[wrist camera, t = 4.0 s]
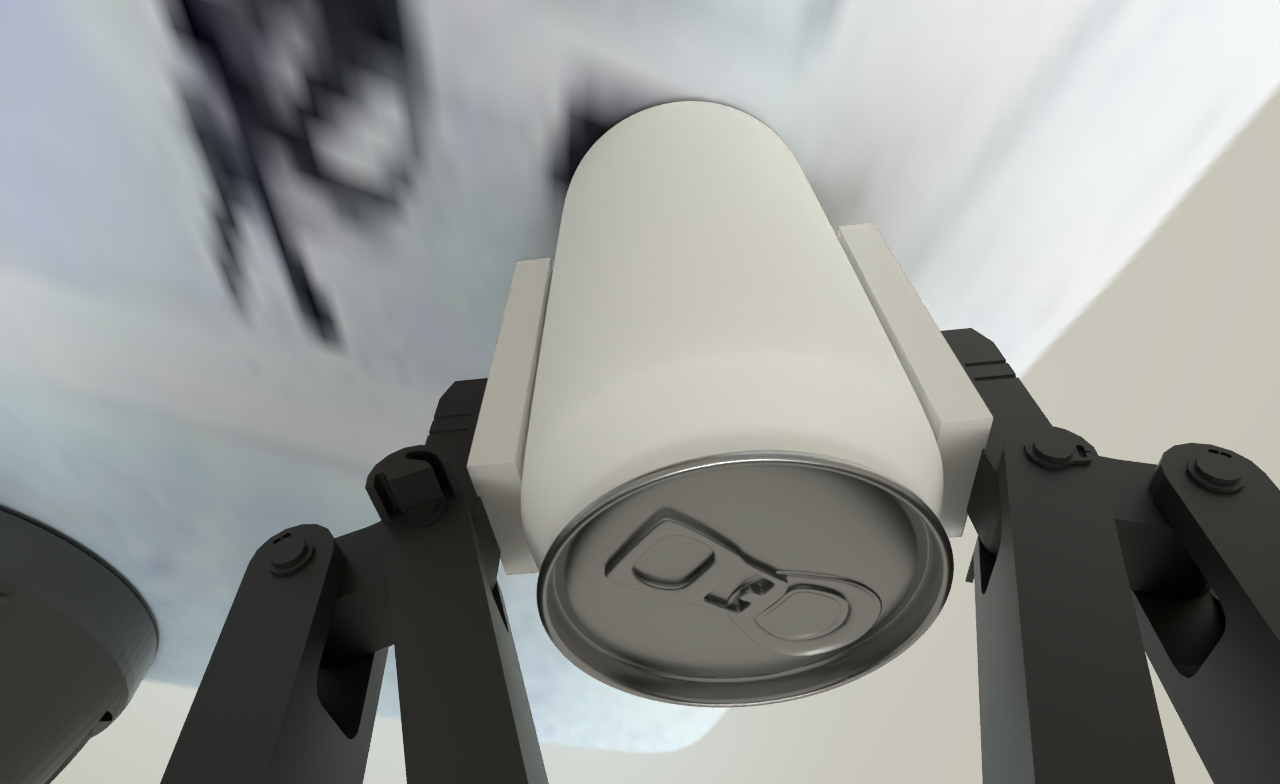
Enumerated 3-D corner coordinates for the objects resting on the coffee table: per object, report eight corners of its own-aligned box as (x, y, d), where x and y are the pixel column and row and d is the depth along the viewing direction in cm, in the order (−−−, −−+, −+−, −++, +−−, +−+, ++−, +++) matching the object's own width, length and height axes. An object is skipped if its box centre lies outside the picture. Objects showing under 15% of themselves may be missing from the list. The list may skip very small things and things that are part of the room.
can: (707, 355, 22) (769, 755, 13) (519, 251, 20) (423, 647, 10) (857, 187, 19) (1096, 561, 9) (653, 37, 16) (694, 332, 7)
